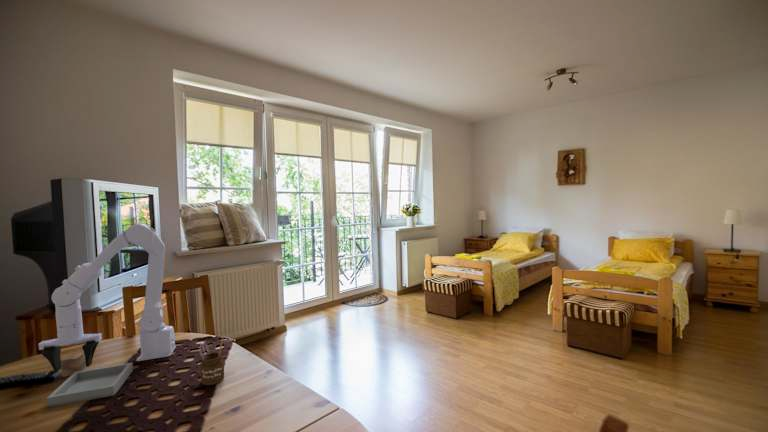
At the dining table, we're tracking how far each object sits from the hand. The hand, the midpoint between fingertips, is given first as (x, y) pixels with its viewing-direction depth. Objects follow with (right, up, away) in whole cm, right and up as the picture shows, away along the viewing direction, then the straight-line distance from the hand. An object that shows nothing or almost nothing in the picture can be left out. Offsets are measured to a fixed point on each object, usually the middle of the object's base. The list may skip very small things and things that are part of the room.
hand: (73, 367), depth 104 cm
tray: (+14, -2, -9) cm, 16 cm away
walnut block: (0, -2, 0) cm, 2 cm away
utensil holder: (+46, -1, -7) cm, 47 cm away
